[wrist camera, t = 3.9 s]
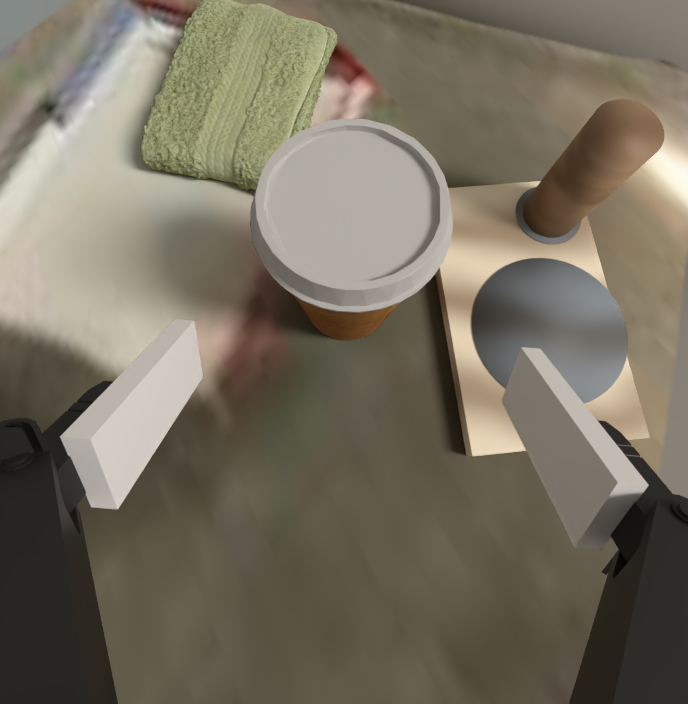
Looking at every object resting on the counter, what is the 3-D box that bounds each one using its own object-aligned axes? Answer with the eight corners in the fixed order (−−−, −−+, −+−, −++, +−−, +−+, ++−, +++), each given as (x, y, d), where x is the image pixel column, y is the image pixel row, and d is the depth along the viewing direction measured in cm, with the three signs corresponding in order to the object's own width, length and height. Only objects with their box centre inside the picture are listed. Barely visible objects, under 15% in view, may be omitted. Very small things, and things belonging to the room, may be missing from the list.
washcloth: (342, 44, 34) (342, 4, 31) (293, 209, 30) (288, 182, 27) (205, 17, 35) (192, -25, 32) (139, 176, 31) (116, 146, 28)
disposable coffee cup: (385, 229, 29) (416, 89, 18) (428, 340, 27) (495, 265, 16) (268, 261, 29) (220, 137, 17) (303, 379, 27) (276, 329, 15)
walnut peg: (517, 193, 29) (584, 101, 21) (567, 189, 29) (652, 97, 21) (528, 239, 28) (602, 161, 20) (580, 235, 28) (673, 156, 20)
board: (422, 199, 30) (426, 189, 29) (573, 188, 31) (583, 176, 29) (466, 455, 25) (472, 456, 24) (642, 437, 26) (658, 436, 25)
